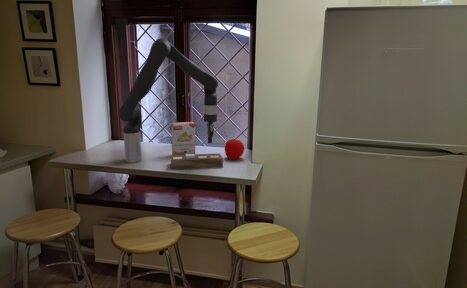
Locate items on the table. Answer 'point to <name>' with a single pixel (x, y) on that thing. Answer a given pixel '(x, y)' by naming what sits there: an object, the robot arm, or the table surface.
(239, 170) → the table surface
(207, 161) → the brown long block
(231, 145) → the red apple
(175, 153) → the cracker box
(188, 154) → the grey key
